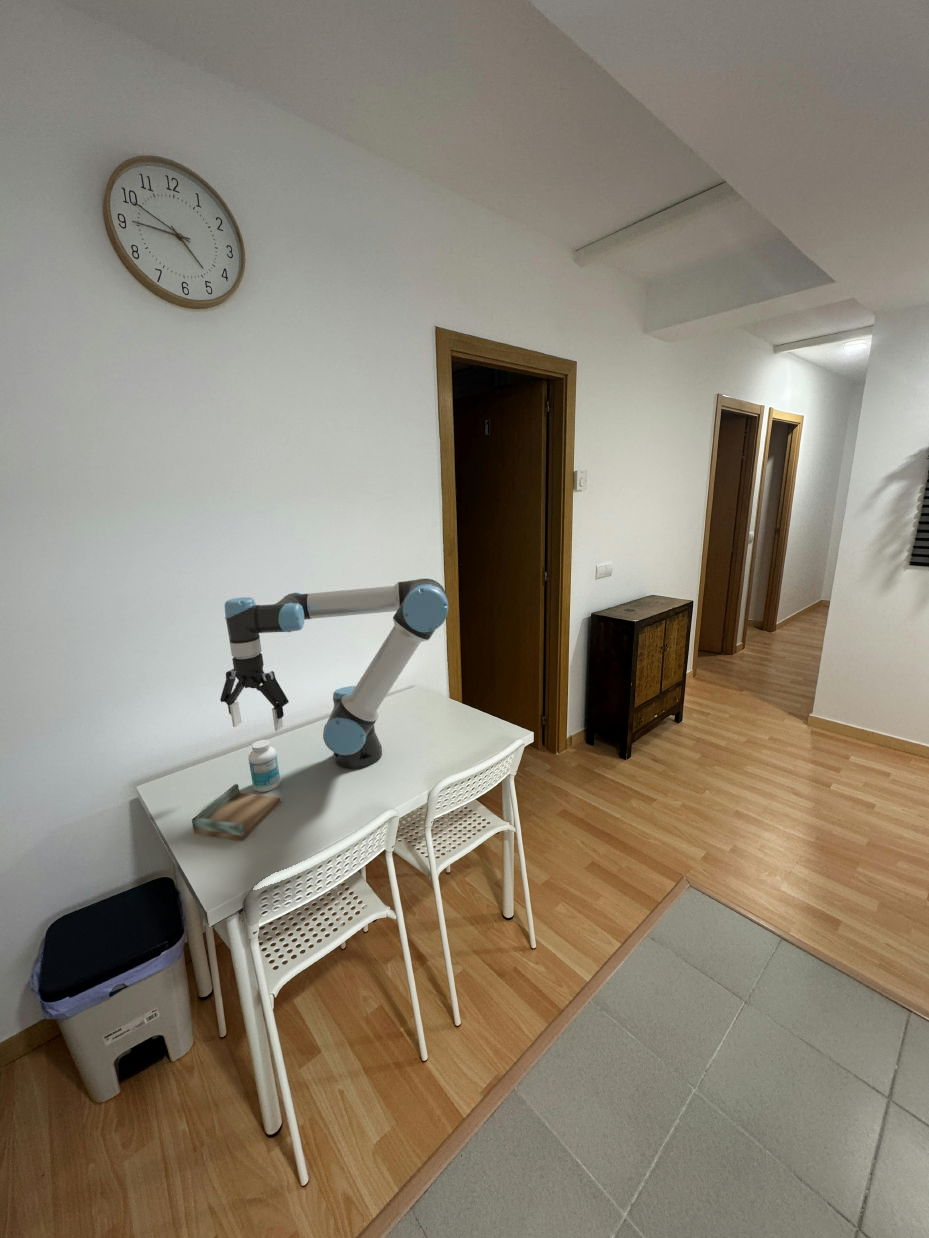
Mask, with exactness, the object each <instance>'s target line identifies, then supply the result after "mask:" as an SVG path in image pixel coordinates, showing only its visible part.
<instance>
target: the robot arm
mask: <svg viewBox="0 0 929 1238" xmlns="http://www.w3.org/2000/svg"><path fill="white" fill-rule="evenodd" d="M392 612H395V613H394V615H393V616H392V619H393V627H392V629H391V630H390V631H389V633H388V635H387V637H386V638H385V640H384V641H383V643H382V644H381V646H380V648H379V649H378V650H377V652H376V653H375V655H374V657H373V658H372V660H371V662H370V663H369V665H368V667H367V668H366V669H365V671H364V672H363V675H362V676H361V677H360V679H359V681H358V682H357V683H356V685H351V686H344V687H340V688H338V689H335V690H334V692H333V694H332V701H333V709H332V711H331V713H330V715H329V717H328V719H327V721H326V723H325V724H324V727H323V732H322V739H323V742H324V744H325V746H326V747H327V749H329V750H330V751H331V752H333V762H334V764H335V765H337V766H338V767H341V768H343V769H360V768H365V767H368V766H371V765H373V764H375V763H377V762H378V761H379V760H380V759H381V758H382V755H383V747H382V744H381V742H380V739H379V737H378V735H377V733H376V730H375V723H376V722H377V720H378V719H379V713H378V709H379V707H380V706H381V704H382V703H383V701H384V700H385V698H386V696H387V695H388V694H389V692H390V691H391V690H392V688H393V685H394V684H395V683H396V682H397V679H399V676H400V675H401V673H402V672H403V671H404V669H405V667H406V666H407V664H408V662H409V661H410V660H411V658H412V657H413V655H414V654H415V652H416V650H417V649H418V647H419V645H421V643H422V642H428V641H430V639H431V638H432V636H433V635H434V633H435V632H436V630H437V629H439V628H440V627H441V626H442V625H443V624H445V623H444V622H445V621H446V619H447V616H448V613H449V601H448V597H447V593H446V591H445V589H444V587H443V586H442V584H441V583H440V582H438V581H436V580H435V579H432V578H418V579H410V580H406V581H398V582H396V583H395V585H388V586H380V587H378V586H377V587H369V588H368V587H367V588H366V587H365V588H356V589H355V588H354V589H353V588H352V589H347V590H346V589H345V590H333V591H322V592H311V593H300V592H291V593H288V594H287V595H284V596H283V598H282V599H280V600H279V601H277V602H276V603H273V604H256V602H255V599H254V598H253V597H247V596H246V597H245V596H243V597H234V598H230V599H227V600H226V601H225V603H224V614H225V617H224V619H225V622H226V628H227V633H228V634H227V635H228V638H229V639H228V640H229V646H230V647H229V648H230V654H231V657H232V665H233V668H232V669H230V670H227V671H226V672H225V682H224V685H223V689H222V693H221V695H220V700H219V701H220V702H221V703H225V704H226V705H227V708H228V714H229V716H230V717H231V722H232V727H233V728H235V727H238V726H239V725H240V724H242V723H243V722H242V717H241V711H240V703H239V701H237V700H238V698H239V696H240V694H242V691H243V689H247V688H248V689H256V690H257V691H258V692H260V693H261V694H262V695H263V697H265V698H266V700H267V701H268V702H269V703H270V704H271V705H272V706H273V708H271V713H272V720H273V726H274V731H277V732H278V731H279V730H280V729H282V728H283V727H284V723H283V717H284V716H285V715H284V714H285V713H284V706H286V705H287V704H289V699H288V698H287V697H288V696H286V694H285V692H284V691H283V689H282V688H281V685H280V684H279V682H278V680H277V679H276V675H275V672H274V671H273V670H271V671H269V672H265V671H264V665H265V664H264V659H263V654H262V653H261V652H262V645H261V639H260V638H261V637H260V634H265V633H266V634H267V633H291V632H297V631H301V630H302V629H303V627H304V625H305V621H306V620H313V619H314V620H315V619H325V618H334V617H335V618H336V617H347V616H357V615H368V614H369V615H370V614H380V613H392ZM236 679H237V682H236ZM235 682H236V684H235ZM234 684H235V687H234ZM233 688H234V689H233Z"/></svg>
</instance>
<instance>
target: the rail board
mask: <svg viewBox="0 0 929 1238" xmlns="http://www.w3.org/2000/svg"><path fill="white" fill-rule="evenodd" d="M281 803H282V801H281V797H279V796H270V795H263V794H261V795H260V794H254V793H247V792H240V787H239V784H237V783H234V784H233V785H231V787H230V788H228V789H227V790H226V791H225V792H224V793H223V794H221V795H220V796H218V798H216V799H215V800H214V801H212V802H211V803H209V805H208V806H207V807H205V808H204V809H202V810H201V811H200V812H199V813H198V814H197V815H195V816H193V818H192V819H191V823H192V828H193V833H194V834H195V835H200V836H201V835H202V836H207V837H208V836H209V837H214V838H219V839H220V838H221V839H227V840H234V841H240V842H243V841H244V840H245V839H246V838H247V837H248V836H249V835H250V834H251V833H252V832H253V831H254V830H255V829H256V828H257V827H258V826H259V825H260V824H261V823H262V822H263V821H264V820H265V819H266V818H267V817H268V816H269V815H270V814H271V813H272V812H273V811H274V810H276V808H278V806H279V805H280V804H281Z"/></svg>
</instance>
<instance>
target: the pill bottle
mask: <svg viewBox="0 0 929 1238" xmlns="http://www.w3.org/2000/svg"><path fill="white" fill-rule="evenodd" d="M251 748H252V749H251V750H252V751H250V753H249V754H248V758H247V759H248V765H249V770H250V775H251V780H252V781H251V783H252V787H253V789H254V790H255V791H256V792H260V793H265V792H269V791H272V790H275V789H276V788H277V787H278V786H279V785H280V783H281V775H280V770H279V762H278V755H277V751H276V749H275V748H274V747H273V746H271V742H270V740H269V739H261V740H257V741H255V742H253V743H252V745H251Z"/></svg>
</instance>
